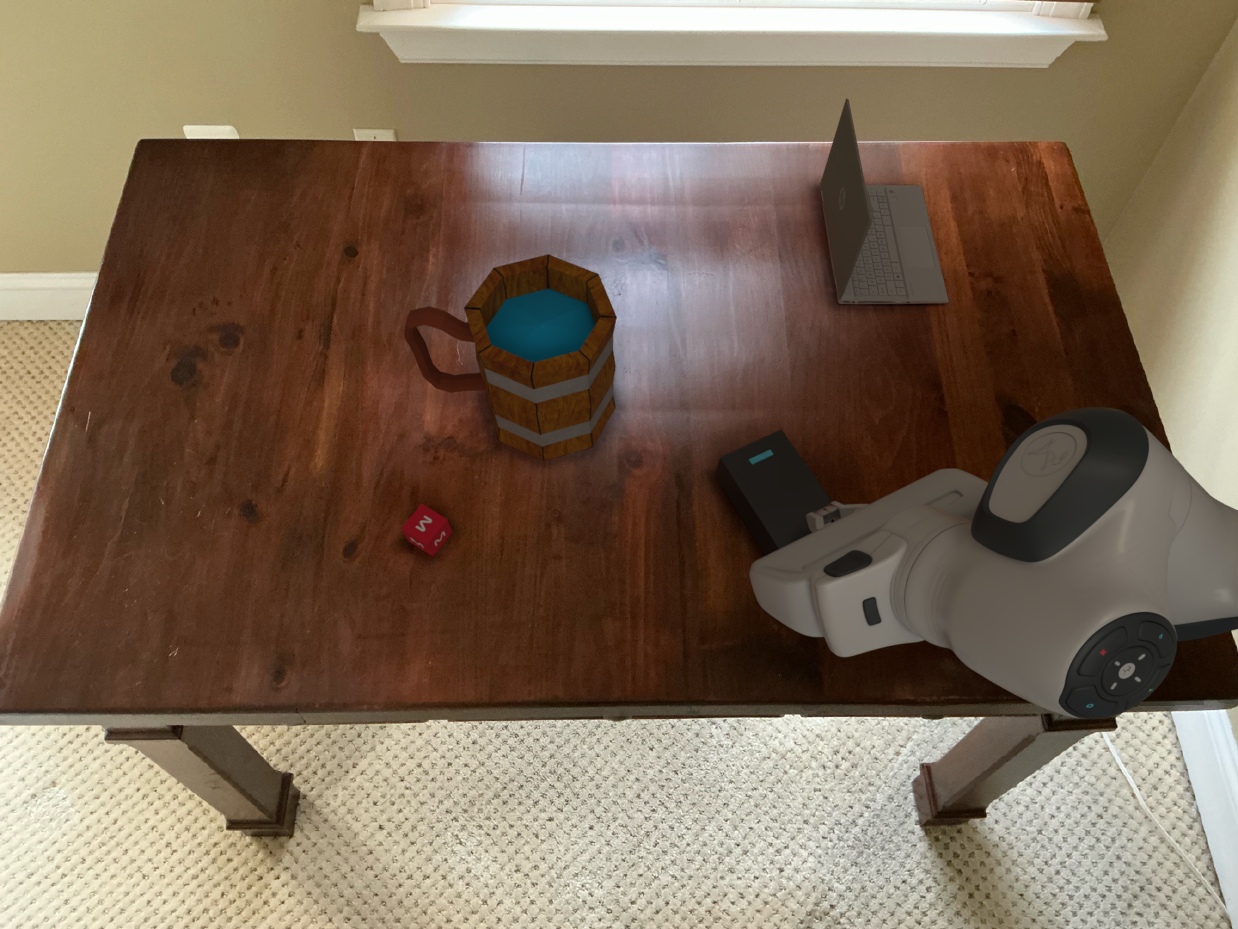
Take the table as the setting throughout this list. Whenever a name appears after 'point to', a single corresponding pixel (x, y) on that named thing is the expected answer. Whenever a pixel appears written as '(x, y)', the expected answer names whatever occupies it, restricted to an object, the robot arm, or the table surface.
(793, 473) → the black power bank
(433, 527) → the dice
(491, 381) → the mug
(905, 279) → the laptop
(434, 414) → the table surface
